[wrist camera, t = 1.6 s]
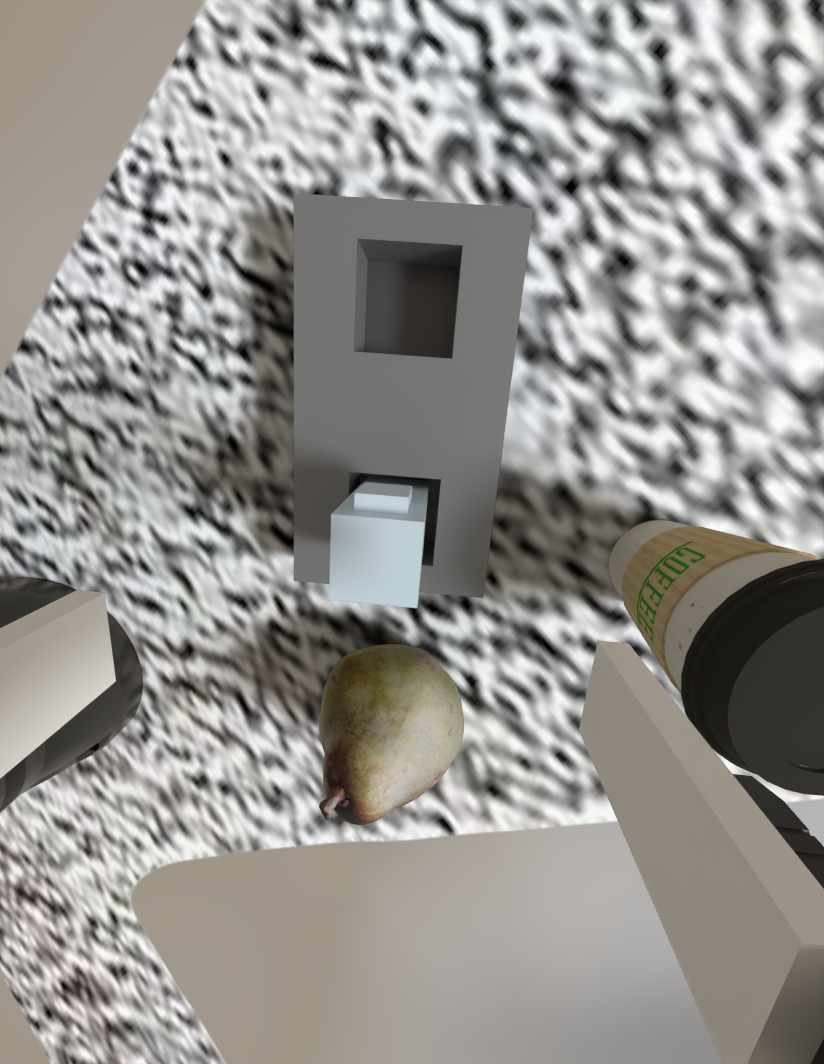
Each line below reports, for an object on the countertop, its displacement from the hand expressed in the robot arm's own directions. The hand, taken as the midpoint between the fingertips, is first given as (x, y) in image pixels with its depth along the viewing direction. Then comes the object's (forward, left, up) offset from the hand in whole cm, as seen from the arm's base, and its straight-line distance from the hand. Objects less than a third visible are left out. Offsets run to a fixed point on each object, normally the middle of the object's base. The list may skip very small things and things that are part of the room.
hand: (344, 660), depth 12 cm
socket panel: (0, +6, -19) cm, 20 cm away
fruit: (+1, -14, -20) cm, 24 cm away
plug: (0, 0, -19) cm, 19 cm away
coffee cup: (+18, -3, -20) cm, 26 cm away
